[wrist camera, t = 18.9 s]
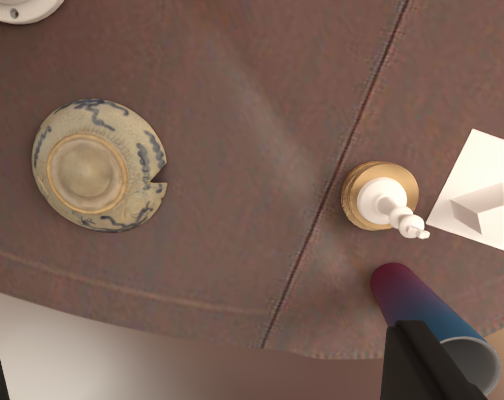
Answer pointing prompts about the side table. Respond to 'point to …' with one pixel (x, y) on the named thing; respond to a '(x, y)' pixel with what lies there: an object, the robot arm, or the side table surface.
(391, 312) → the cup
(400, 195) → the chess piece
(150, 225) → the side table surface
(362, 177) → the chip pile
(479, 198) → the napkin holder
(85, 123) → the decorative bowl
